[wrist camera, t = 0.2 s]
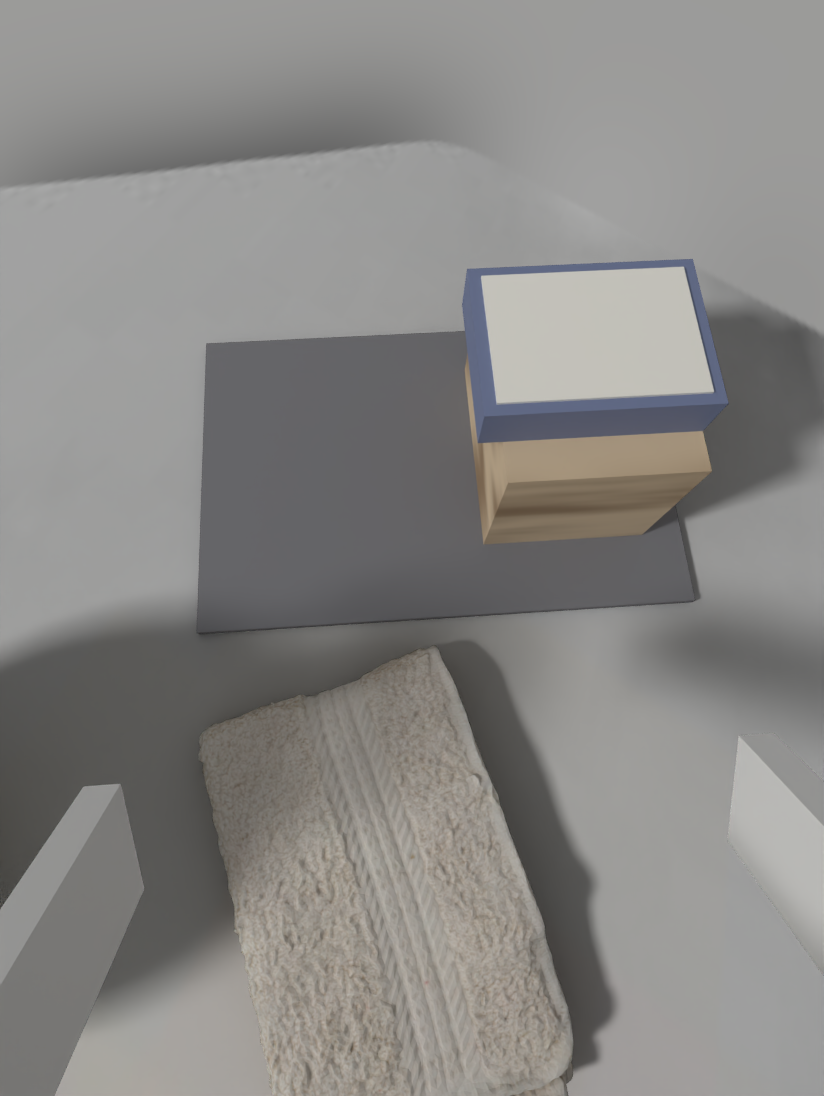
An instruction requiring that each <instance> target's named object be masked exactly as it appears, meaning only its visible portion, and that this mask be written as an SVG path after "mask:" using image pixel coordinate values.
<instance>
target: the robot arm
mask: <svg viewBox="0 0 824 1096" xmlns="http://www.w3.org/2000/svg"><path fill="white" fill-rule="evenodd" d="M727 841H728V842H729V844H730V845H731V846H732V848H733V849H734V851H735V852H736V854H737V855H738V856H739V858H740V859H741V861H742V862H743V863H744V865H745V866H746V868H747V869H748V870H749V872H750V873H751V875H752V876H753V877H754V879H755V880H756V882H757V883H758V884H759V886H760V887H761V889H762V890H763V892H764V893H765V894H766V896H767V897H768V899H769V900H770V901H771V903H772V904H773V906H774V907H775V908H776V910H777V911H778V913H779V914H780V915H781V917H782V918H783V920H784V921H785V922H786V924H787V925H788V927H789V928H790V929H791V931H792V932H793V934H794V935H795V937H796V938H797V939H798V941H799V942H800V944H801V945H802V946H803V948H804V949H805V951H806V952H807V953H808V955H809V956H810V958H811V959H812V960H813V962H814V963H815V965H816V966H817V967H818V969H819V970H820V972H821V973H822V975H823V976H824V781H823V780H822V779H821V778H820V777H819V776H818V775H817V774H816V773H815V772H814V771H813V770H812V769H811V768H810V767H809V766H808V765H807V764H806V763H805V762H804V761H803V760H801V759H800V758H799V757H798V756H797V755H796V754H795V753H794V752H793V751H792V750H791V749H790V748H789V747H788V746H787V745H786V744H785V743H784V742H783V741H782V740H781V739H780V738H779V737H778V736H777V735H776V734H775V733H765V734H752V735H739V739H738V748H737V757H736V766H735V775H734V784H733V793H732V802H731V811H730V820H729V829H728V838H727ZM143 891H144V884H143V880H142V875H141V871H140V866H139V862H138V858H137V853H136V849H135V844H134V840H133V835H132V831H131V827H130V822H129V818H128V813H127V809H126V804H125V800H124V795H123V791H122V787H121V784H109V785H96V786H84V787H83V788H82V790H81V791H80V793H79V794H78V795H77V797H76V798H75V800H74V801H73V803H72V804H71V806H70V807H69V809H68V810H67V812H66V813H65V815H64V816H63V818H62V819H61V821H60V822H59V823H58V825H57V826H56V828H55V829H54V831H53V832H52V834H51V835H50V837H49V838H48V840H47V841H46V843H45V844H44V846H43V847H42V849H41V850H40V851H39V853H38V854H37V856H36V857H35V859H34V860H33V862H32V863H31V865H30V866H29V868H28V869H27V871H26V872H25V874H24V875H23V877H22V878H21V879H20V881H19V882H18V884H17V885H16V887H15V888H14V890H13V891H12V893H11V894H10V896H9V897H8V899H7V900H6V902H5V903H4V905H3V906H2V907H1V909H0V1096H54V1095H55V1093H56V1091H57V1088H58V1086H59V1084H60V1081H61V1079H62V1077H63V1075H64V1072H65V1070H66V1068H67V1065H68V1063H69V1061H70V1059H71V1056H72V1054H73V1052H74V1049H75V1047H76V1045H77V1042H78V1040H79V1038H80V1036H81V1033H82V1031H83V1029H84V1026H85V1024H86V1022H87V1020H88V1017H89V1015H90V1013H91V1010H92V1008H93V1006H94V1003H95V1001H96V999H97V997H98V994H99V992H100V990H101V987H102V985H103V983H104V981H105V978H106V976H107V974H108V971H109V969H110V967H111V965H112V962H113V960H114V958H115V955H116V953H117V951H118V948H119V946H120V944H121V942H122V939H123V937H124V935H125V932H126V930H127V928H128V926H129V923H130V921H131V919H132V916H133V914H134V912H135V910H136V907H137V905H138V903H139V900H140V898H141V896H142V893H143Z"/></svg>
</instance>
